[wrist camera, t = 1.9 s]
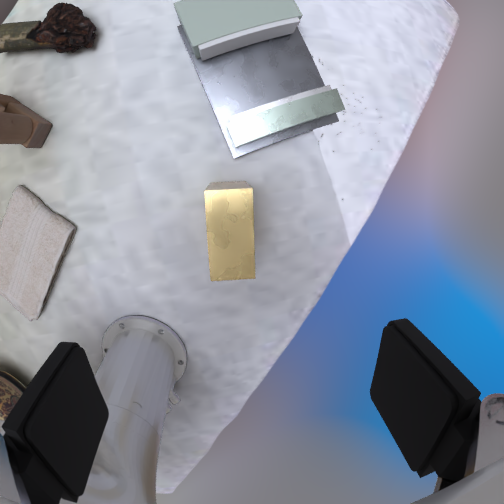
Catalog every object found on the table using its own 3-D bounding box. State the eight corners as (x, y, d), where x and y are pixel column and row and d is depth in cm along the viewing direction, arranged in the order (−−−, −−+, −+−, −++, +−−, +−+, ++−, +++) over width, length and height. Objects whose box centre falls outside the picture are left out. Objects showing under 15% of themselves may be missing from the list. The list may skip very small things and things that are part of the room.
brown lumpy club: (2, 56, 24) (-20, 49, 19) (18, 17, 22) (0, 6, 17) (92, 57, 28) (74, 45, 22) (111, 14, 26) (97, -4, 21)
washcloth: (-7, 278, 35) (-18, 285, 32) (22, 180, 32) (10, 182, 29) (43, 321, 38) (34, 330, 35) (81, 225, 35) (70, 230, 32)
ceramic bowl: (76, 397, 42) (47, 458, 28) (64, 439, 45) (43, 489, 31) (-25, 324, 36) (-69, 365, 22) (-23, 378, 40) (-54, 418, 26)
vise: (334, 122, 33) (352, 117, 28) (233, 158, 34) (235, 157, 28) (278, 1, 28) (286, -20, 23) (178, 31, 28) (172, 12, 23)
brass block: (247, 247, 37) (255, 278, 27) (214, 249, 37) (210, 281, 27) (245, 181, 34) (252, 188, 25) (210, 182, 34) (204, 190, 25)
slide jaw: (296, 33, 28) (304, 19, 24) (198, 63, 28) (195, 51, 25) (273, -10, 26) (278, -26, 22) (178, 18, 26) (173, 3, 22)
